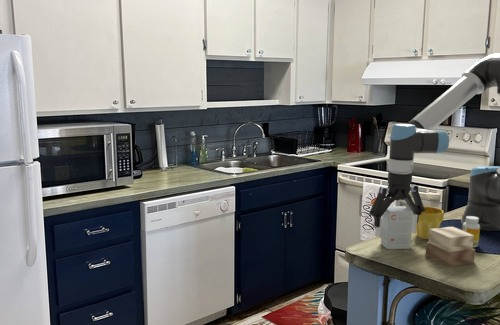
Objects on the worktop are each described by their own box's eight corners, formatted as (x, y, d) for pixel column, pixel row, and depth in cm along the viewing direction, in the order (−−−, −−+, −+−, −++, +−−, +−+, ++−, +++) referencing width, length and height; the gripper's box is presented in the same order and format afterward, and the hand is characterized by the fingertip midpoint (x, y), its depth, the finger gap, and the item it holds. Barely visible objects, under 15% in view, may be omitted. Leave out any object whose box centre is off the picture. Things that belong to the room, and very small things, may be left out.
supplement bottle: (457, 243, 167) (459, 216, 166) (468, 241, 169) (471, 214, 168) (470, 248, 162) (472, 220, 161) (481, 246, 164) (484, 218, 163)
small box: (402, 242, 167) (405, 205, 165) (410, 249, 161) (413, 210, 159) (379, 243, 166) (382, 206, 164) (386, 249, 160) (389, 211, 158)
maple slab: (451, 239, 158) (452, 226, 157) (472, 249, 150) (473, 235, 149) (428, 242, 155) (429, 228, 154) (448, 252, 147) (449, 237, 146)
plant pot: (405, 235, 175) (407, 209, 173) (420, 230, 181) (422, 204, 180) (432, 243, 167) (434, 215, 165) (447, 237, 174) (449, 210, 172)
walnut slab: (450, 252, 159) (451, 239, 159) (473, 263, 150) (475, 249, 149) (425, 255, 156) (426, 242, 155) (447, 267, 147) (449, 253, 146)
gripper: (423, 167, 167) (418, 227, 171) (360, 171, 158) (357, 234, 162) (439, 172, 160) (433, 234, 164) (374, 176, 151) (370, 241, 155)
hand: (395, 234), depth 163 cm, fingers open, 13 cm apart
